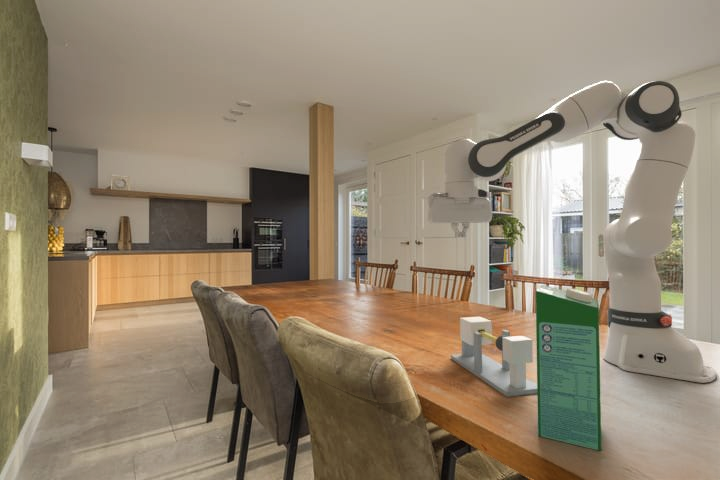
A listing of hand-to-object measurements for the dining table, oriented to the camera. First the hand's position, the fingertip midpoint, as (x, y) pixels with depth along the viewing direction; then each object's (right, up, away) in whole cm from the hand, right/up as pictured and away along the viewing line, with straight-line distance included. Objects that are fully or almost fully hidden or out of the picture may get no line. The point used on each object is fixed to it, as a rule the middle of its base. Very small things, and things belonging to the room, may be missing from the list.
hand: (460, 237), depth 114 cm
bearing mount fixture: (+2, -34, -22) cm, 41 cm away
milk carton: (+5, -34, -50) cm, 61 cm away
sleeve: (0, -28, -15) cm, 32 cm away
